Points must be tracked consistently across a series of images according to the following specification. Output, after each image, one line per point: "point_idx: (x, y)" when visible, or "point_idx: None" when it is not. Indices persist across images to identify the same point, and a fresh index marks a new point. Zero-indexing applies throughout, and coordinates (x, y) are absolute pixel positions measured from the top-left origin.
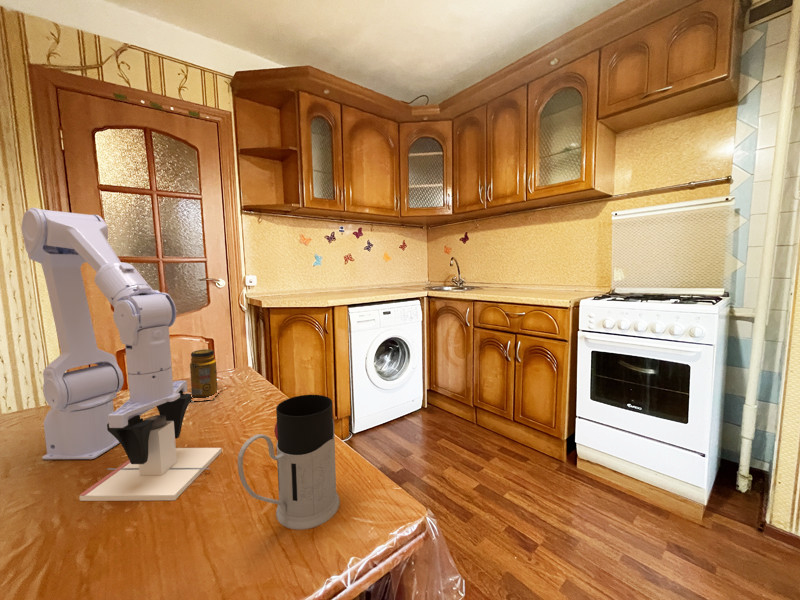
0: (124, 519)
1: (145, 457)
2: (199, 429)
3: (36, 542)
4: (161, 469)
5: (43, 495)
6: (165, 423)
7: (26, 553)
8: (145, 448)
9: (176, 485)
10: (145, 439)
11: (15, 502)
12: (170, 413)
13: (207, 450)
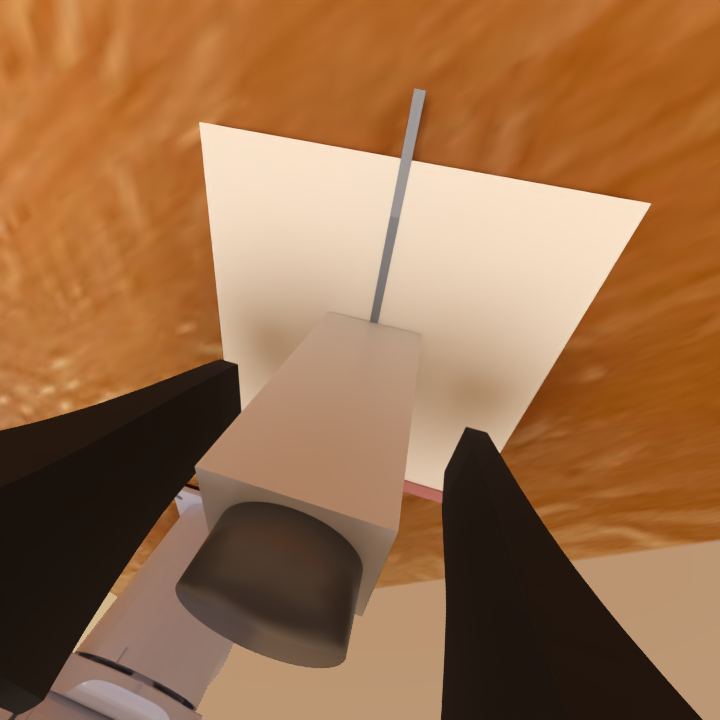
0: (664, 362)
1: (497, 452)
2: (82, 320)
3: (634, 520)
4: (419, 347)
5: (410, 549)
6: (264, 516)
7: (679, 524)
8: (521, 504)
9: (543, 233)
10: (561, 588)
11: (422, 574)
12: (105, 515)
13: (230, 203)
